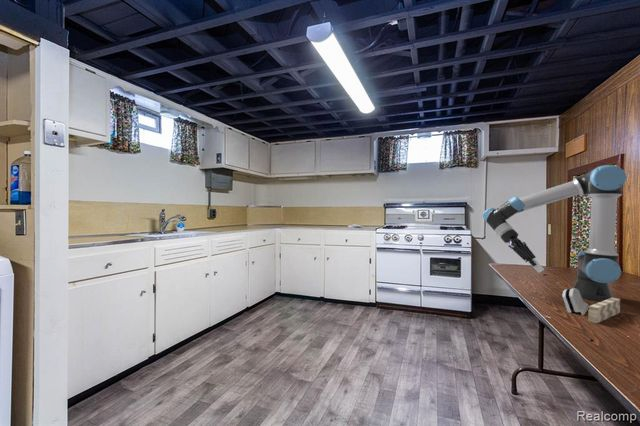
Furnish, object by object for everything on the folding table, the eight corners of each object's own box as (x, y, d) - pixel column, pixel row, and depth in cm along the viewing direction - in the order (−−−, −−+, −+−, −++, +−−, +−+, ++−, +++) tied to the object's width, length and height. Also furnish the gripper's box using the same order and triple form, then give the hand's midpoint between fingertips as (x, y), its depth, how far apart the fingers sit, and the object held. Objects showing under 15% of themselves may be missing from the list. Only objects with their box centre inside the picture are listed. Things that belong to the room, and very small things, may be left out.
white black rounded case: (583, 315, 124) (573, 291, 126) (569, 316, 127) (560, 292, 129) (589, 307, 135) (580, 285, 137) (576, 308, 138) (567, 286, 140)
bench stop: (611, 311, 130) (612, 297, 130) (619, 312, 128) (620, 298, 128) (588, 321, 117) (588, 306, 117) (596, 323, 115) (597, 308, 115)
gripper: (507, 237, 163) (541, 274, 149) (494, 237, 156) (528, 276, 142) (518, 228, 158) (554, 265, 144) (505, 228, 151) (541, 267, 137)
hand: (541, 271), depth 143 cm, fingers closed
